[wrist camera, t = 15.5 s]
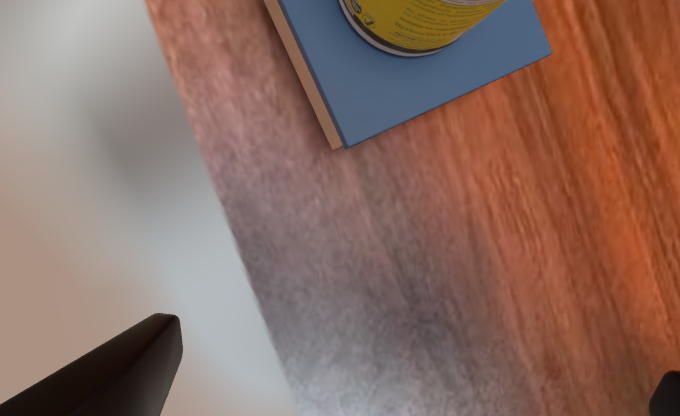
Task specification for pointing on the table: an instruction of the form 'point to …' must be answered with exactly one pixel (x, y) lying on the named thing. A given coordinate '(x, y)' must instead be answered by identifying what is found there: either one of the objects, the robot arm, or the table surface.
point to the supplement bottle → (415, 22)
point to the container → (396, 65)
